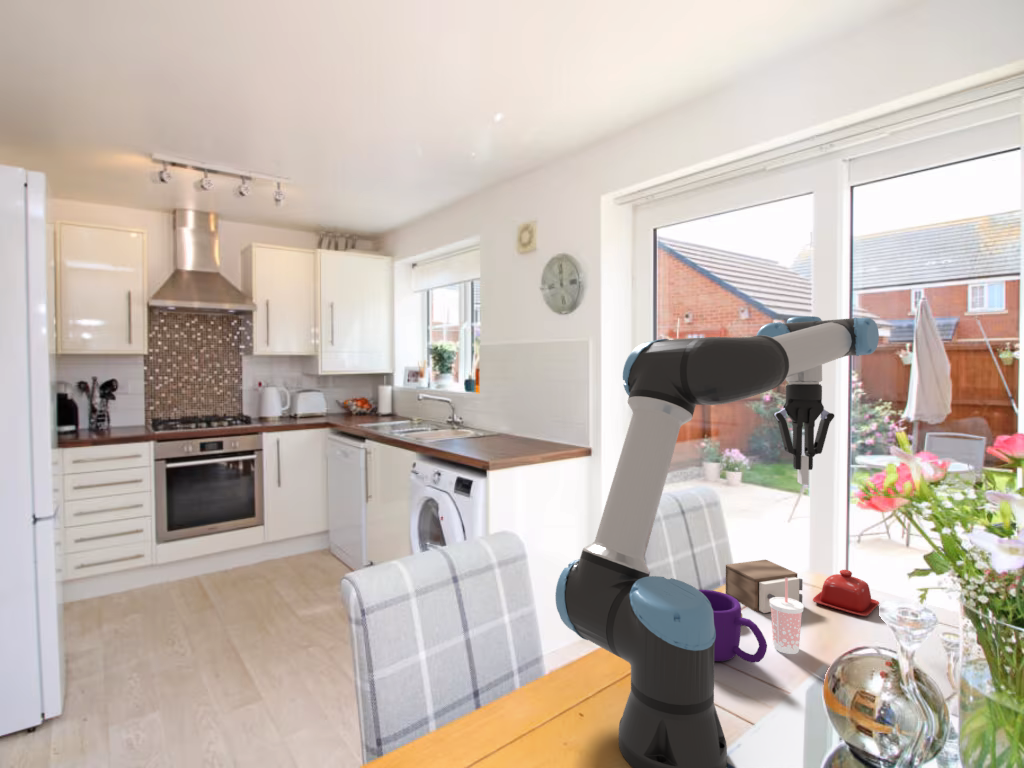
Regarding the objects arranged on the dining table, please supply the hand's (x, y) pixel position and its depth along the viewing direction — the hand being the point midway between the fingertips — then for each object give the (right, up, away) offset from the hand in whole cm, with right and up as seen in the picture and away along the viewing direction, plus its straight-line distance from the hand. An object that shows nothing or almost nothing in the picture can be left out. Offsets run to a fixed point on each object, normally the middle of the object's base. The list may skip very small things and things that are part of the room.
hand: (802, 483), depth 130 cm
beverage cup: (-14, -29, -21) cm, 38 cm away
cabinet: (-9, -28, +2) cm, 30 cm away
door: (-6, -28, -4) cm, 29 cm away
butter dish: (+10, -29, -1) cm, 30 cm away
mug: (-28, -29, -24) cm, 47 cm away
